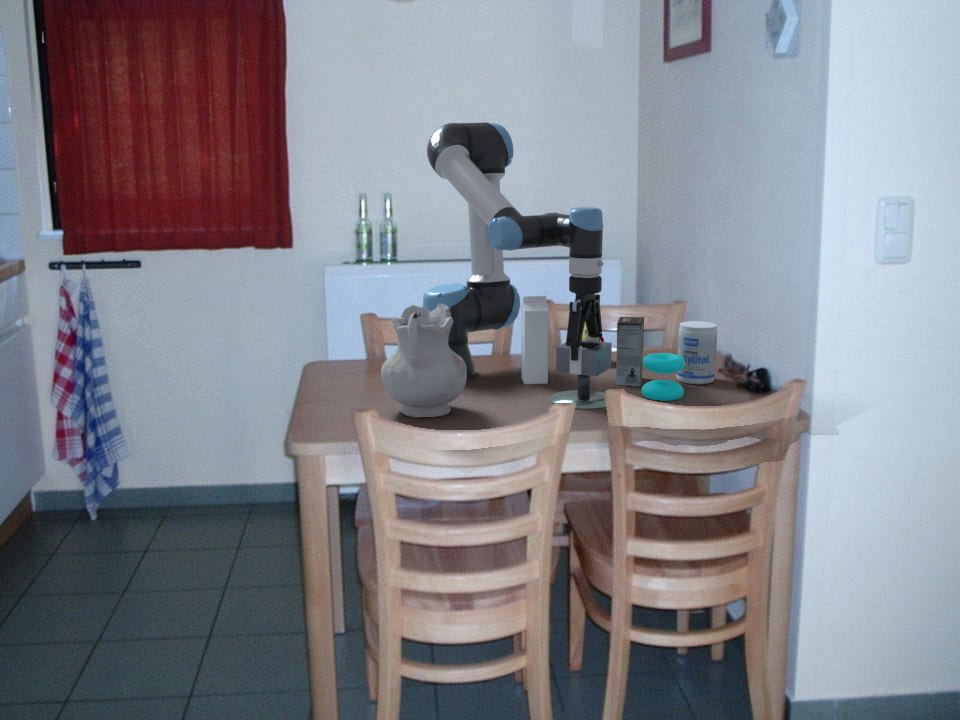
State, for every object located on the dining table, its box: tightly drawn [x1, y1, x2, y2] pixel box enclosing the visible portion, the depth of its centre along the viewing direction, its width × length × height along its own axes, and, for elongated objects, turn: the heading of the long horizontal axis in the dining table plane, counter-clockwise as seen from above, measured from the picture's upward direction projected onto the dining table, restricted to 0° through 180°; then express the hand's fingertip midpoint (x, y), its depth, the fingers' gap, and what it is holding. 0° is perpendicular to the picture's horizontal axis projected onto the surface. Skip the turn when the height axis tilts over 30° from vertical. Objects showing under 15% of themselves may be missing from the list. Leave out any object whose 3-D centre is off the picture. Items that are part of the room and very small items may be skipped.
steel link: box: [555, 340, 613, 377], centre depth 238 cm, size 10×10×6 cm
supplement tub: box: [676, 320, 718, 385], centre depth 256 cm, size 10×10×15 cm
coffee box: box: [615, 316, 645, 387], centre depth 256 cm, size 9×6×16 cm
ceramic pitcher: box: [380, 303, 468, 418], centre depth 228 cm, size 22×20×25 cm
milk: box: [520, 295, 549, 385], centre depth 256 cm, size 6×6×22 cm
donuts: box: [641, 352, 685, 402], centre depth 242 cm, size 10×10×10 cm
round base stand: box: [549, 374, 606, 410], centre depth 239 cm, size 16×16×10 cm
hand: (584, 368), depth 238 cm, fingers closed on steel link, 10 cm apart
